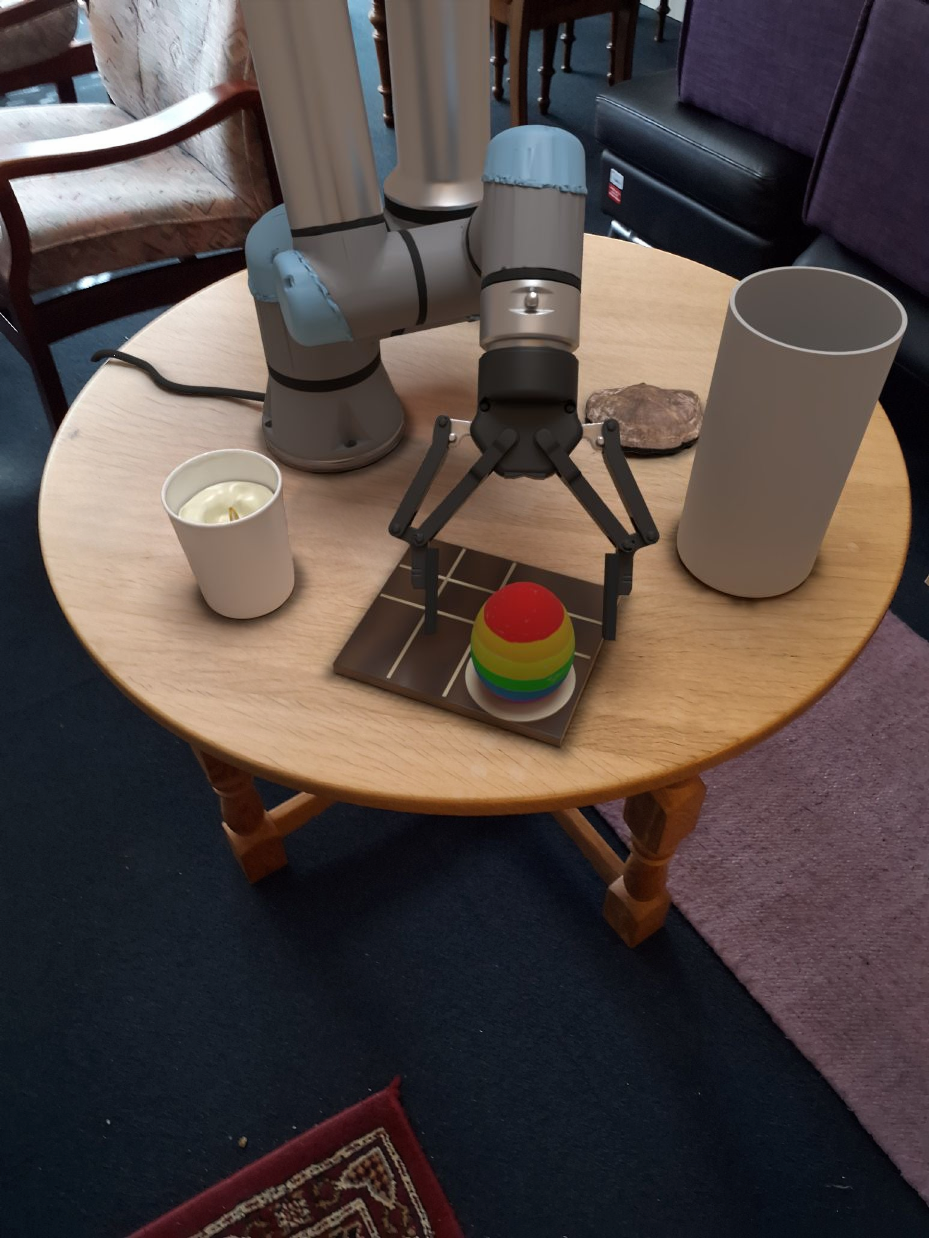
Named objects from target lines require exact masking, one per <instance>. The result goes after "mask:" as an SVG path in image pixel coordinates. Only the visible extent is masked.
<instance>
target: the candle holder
mask: <svg viewBox="0 0 929 1238" xmlns="http://www.w3.org/2000/svg"><path fill="white" fill-rule="evenodd" d="M160 500H161V501H160V502H161V504H162V507H163V509H164V511H165V512H166V514H167V517H168V519H169V520H170V523H171V525H172V527H173V530H174V533H175V535H176V537H177V540H178V542H179V545H180V547H181V549H182V551H183V553H184V555H185V557H186V560H187V562H188V564H189V567H190V569H191V573H192V574H193V576H194V578H195V581H196V583H197V585H198V587H199V590H200V592H201V594H202V597H203V598H204V600H205V602H206V604H207V605H208V606H209V607H210V608H211V610H213V611H215V612H216V613H217V614H219V615H221V616H223V617H226V618H230V619H237V620H238V619H239V620H242V619H244V620H245V619H247V620H248V619H255V618H258V617H261V616H264V615H267V614H269V613H271V612H273V611H275V610H276V609H278V608H280V607H281V606H282V605H283V604H284V603H285V602H287V600H288V599H289V597H290V596H291V594H292V592H293V590H294V586H295V581H296V579H295V569H294V568H295V567H294V560H293V553H292V546H291V538H290V531H289V525H288V517H287V511H286V504H285V497H284V489H283V476H282V473H281V470H280V468H279V467H278V466H277V464H276V463H275V462H274V461H273V460H272V459H271V458H269V457H267V456H266V455H264V454H261V453H259V452H256V451H253V450H249V449H243V448H222V449H216V450H211V451H208V452H204V453H201V454H198V455H196V456H193V457H191V458H189V459H187V460H185V461H184V462H182V463H180V464H179V465H178V466H176V468H174V469H173V470H172V471H171V472H170V473H169V475H168V476H167V477H166V479H165V480H164V482H163V483H162V487H161V490H160Z"/></svg>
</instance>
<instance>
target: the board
mask: <svg viewBox="0 0 929 1238" xmlns="http://www.w3.org/2000/svg"><path fill="white" fill-rule="evenodd" d="M429 548H439V572H438V608H437V632H436V633H435V634H434V635H433V634H424V624H425V589H413V586H412V583H411V567H412V549H411V546H410V545H409V546H408V548H407V550H406V551H405V553H404V554H403V556H401V559H400V560H399V562H398V563H397V564H396V566H395V568H394V569H393V571H392V572H391V574H390V576H389V577H388V578H387V580H386V582H385V583H384V584H383V586H382V588H381V589H380V590H379V592H378V594H377V595H376V597H375V598H374V600H373V601H372V603H371V605H370V606H369V607H368V609H367V611H366V612H365V613H364V616H363V617H362V618H361V620H360V621H359V623H358V624H357V626H356V627H355V629H354V630H353V632H352V633H351V634H350V637H349V638H348V640H347V641H346V643H345V644H344V645H343V647H342V649H341V650H340V651H339V653H338V655H337V656H336V658H335V660H334V661H333V663H332V666H333V671H334V673H336V674H337V675H342V676H344V677H347V678H350V679H354V680H357V681H359V682H362V683H366V684H369V685H371V686H374V687H377V688H381V689H384V690H387V691H389V692H393V693H396V694H398V695H401V696H405V697H407V698H410V699H414V700H417V701H420V702H423V703H426V704H429V705H432V706H435V707H438V708H440V709H444V710H447V711H450V712H453V713H456V714H458V715H462V716H464V717H468V718H471V719H474V720H477V721H480V722H483V723H486V724H488V725H492V726H495V727H497V728H500V729H504V730H507V731H510V732H513V733H516V734H518V735H522V736H524V737H528V738H531V739H534V740H537V741H540V742H543V743H546V744H549V745H552V746H555V747H558V748H560V747H561V746H562V744H563V743H562V742H563V740H564V738H565V735H566V733H567V731H568V728H569V726H570V724H571V721H572V719H573V716H574V714H575V712H576V709H577V706H578V703H579V702H580V699H581V696H582V694H583V692H584V689H585V687H586V684H587V682H588V680H589V678H590V674H591V672H592V669H593V668H594V666H595V665H594V664H595V662H596V660H597V657H598V655H599V652H600V650H601V648H602V645H603V642H604V641H605V639H603V638H602V617H603V592H604V585H603V584H602V585H601V584H598V583H595V582H592V581H588V580H584V579H581V578H577V577H574V576H570V575H566V574H562V573H559V572H555V571H551V570H548V569H544V568H541V567H537V566H535V565H530V564H526V563H523V562H519V561H515V560H512V559H508V558H505V557H501V556H498V555H494V554H490V553H487V552H483V551H479V550H476V549H472V548H469V547H465V546H461V545H458V544H455V543H451V542H447V541H445V540H440V539H436V538H433V540H432V541H431V542H430V543H429ZM516 582H532V583H536V584H538V585H541V586H543V587H545V588H546V589H548V590H549V591H551V592H552V593H553V594H554V595H555V596H556V597H557V598H558V599H559V600H560V601H561V603H562V604H563V606H564V607H565V609H566V611H567V613H568V615H569V617H570V620H571V622H572V626H573V630H574V637H575V652H574V659H573V662H572V666H571V668H570V671H569V673H568V675H567V677H566V678H565V680H564V681H563V683H562V684H561V685H560V686H559V687H558V688H557V689H556V690H555V691H554V692H553V693H551V694H550V695H548V696H547V697H545V698H542V699H540V700H537V701H534V702H529V703H515V702H510V701H507V700H504V699H502V698H500V697H498V696H496V695H495V694H494V693H492V692H491V691H490V690H489V689H488V688H487V687H486V686H485V685H484V684H483V683H482V681H481V680H480V678H479V677H478V675H477V673H476V671H475V668H474V666H473V662H472V657H471V646H470V643H471V634H472V629H473V626H474V622H475V620H476V617H477V615H478V613H479V611H480V610H481V608H482V607H483V605H484V604H485V602H486V601H487V600H488V599H489V598H490V597H491V596H492V595H493V594H494V593H495V592H497V591H498V590H500V589H501V588H503V587H505V586H507V585H509V584H512V583H516ZM621 596H622V595H618V596H617V607H618V606H619V604H620V601H621Z"/></svg>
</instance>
